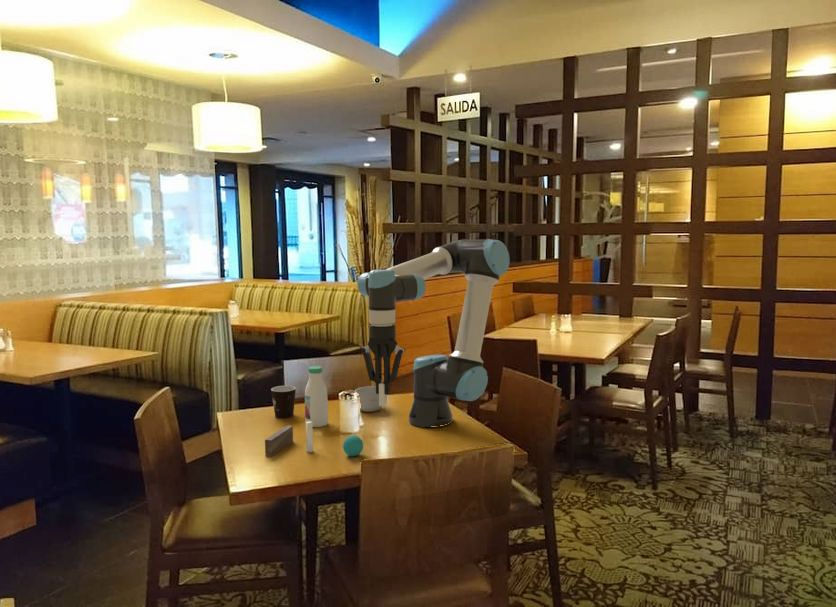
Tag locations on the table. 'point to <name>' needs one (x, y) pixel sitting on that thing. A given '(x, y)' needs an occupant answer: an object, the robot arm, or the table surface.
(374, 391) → the teacup
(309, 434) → the pin
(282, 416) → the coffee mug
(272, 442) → the back wall
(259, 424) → the table surface
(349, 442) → the ball
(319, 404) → the milk bottle
